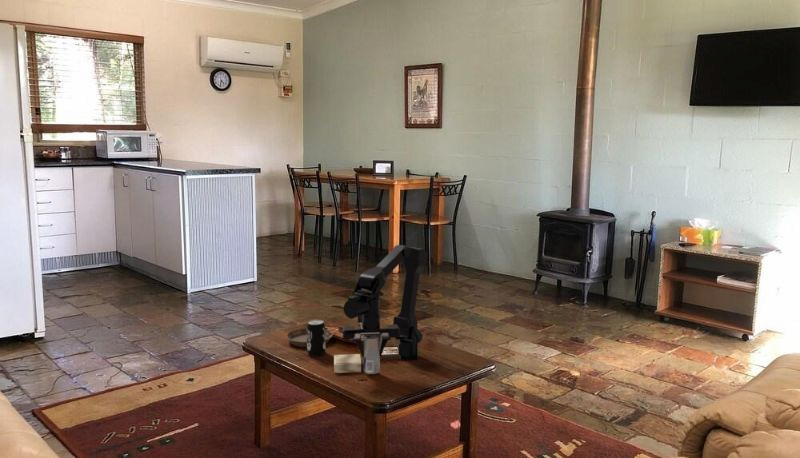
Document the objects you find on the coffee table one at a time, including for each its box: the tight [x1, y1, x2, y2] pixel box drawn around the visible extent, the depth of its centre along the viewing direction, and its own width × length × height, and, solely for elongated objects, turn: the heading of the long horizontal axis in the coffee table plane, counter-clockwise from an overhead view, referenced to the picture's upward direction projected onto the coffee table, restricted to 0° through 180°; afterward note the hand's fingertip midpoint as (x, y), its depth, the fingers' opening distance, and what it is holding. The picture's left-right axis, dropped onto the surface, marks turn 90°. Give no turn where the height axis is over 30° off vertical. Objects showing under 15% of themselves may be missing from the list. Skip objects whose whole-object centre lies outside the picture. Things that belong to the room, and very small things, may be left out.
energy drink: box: [362, 334, 381, 375], centre depth 208 cm, size 5×5×12 cm
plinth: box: [333, 353, 362, 374], centre depth 215 cm, size 9×9×3 cm
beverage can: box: [306, 319, 326, 357], centre depth 228 cm, size 7×7×12 cm
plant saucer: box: [285, 327, 333, 348], centre depth 242 cm, size 18×18×3 cm
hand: (371, 356), depth 208 cm, fingers closed on energy drink, 5 cm apart
